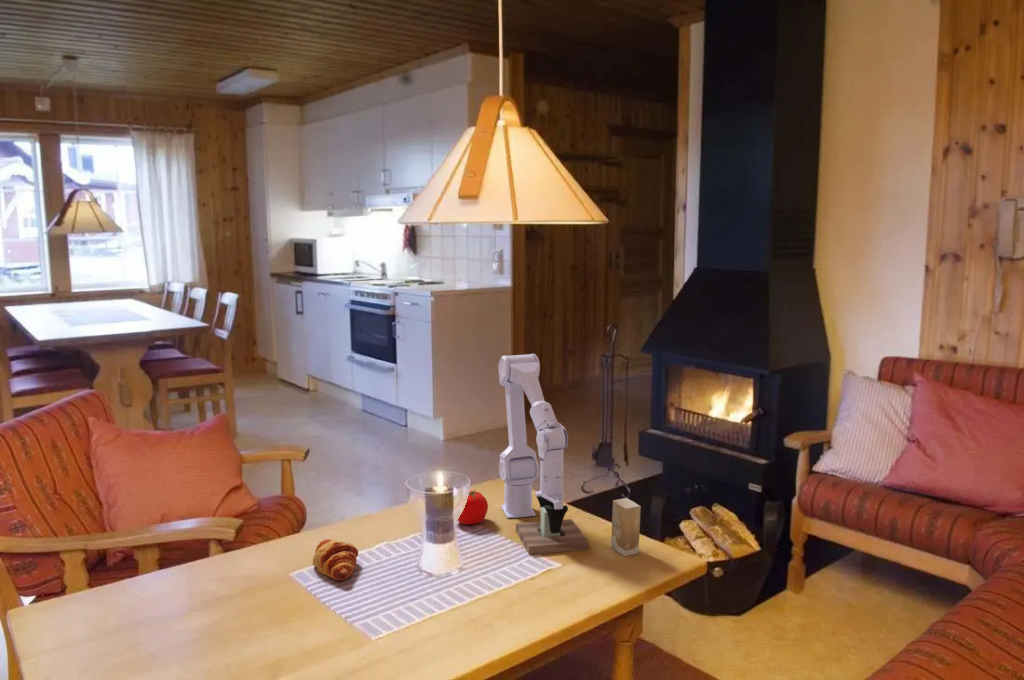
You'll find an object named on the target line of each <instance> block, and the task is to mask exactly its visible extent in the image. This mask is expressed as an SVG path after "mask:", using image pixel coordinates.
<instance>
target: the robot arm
mask: <svg viewBox="0 0 1024 680" xmlns="http://www.w3.org/2000/svg"><path fill="white" fill-rule="evenodd" d="M540 365H541V364H540V359H539V357H538V356H537V355H536V353H530V354H529V353H528V354H517V355H516V354H515V355H502V356H501V357H500V359H499V362H498V365H497V366H498V377H499V378H498V381H499V386H502V387H504V392H505V393H504V394H505V405H506V407H505V408H506V418H507V419H506V421H507V434H508V435H507V436H508V437H507V438H508V446H507V447H506V448H505V450H503V451H502V452H501V453H500V454H499V464H498V472H499V476H500V479H501V480H502V481H503V482H504V486H503V487H504V488H503V489H504V493H503V495H504V497H503V498H504V500H503V501H504V502H503V504H501V507H500V508H501V510H502V511H503V513H504V514H505V517H507V519H515V518H527V517H529V518H530V517H536V516H537V513H536V512H535V510H534V509H533V483H535V479H536V478H537V477H538V475H539V473H540V475H539V480H540V482H539V491H535V497H536V499H537V501H538V504H539V508H540V509H541V507H544V508H545V510H546V512H547V515H548V519H549V526H550V531H551V533H559V532H560V529H561V525H562V521H563V520H564V517H565V515H566V514H567V513H568V509H569V507H568V505H564V501H563V499H564V495H565V494H564V493H565V492H564V450H566V449H567V447H568V444H569V436H568V432H567V429H566V427H565V426H563V425H562V423H560V422H558V420H557V418H556V415H555V412H554V410H553V407H552V405H551V403H549V402H547V401H545V398H544V394H543V391H542V387H541V384H540V380H539V377H540V370H541V368H540V367H541V366H540ZM524 395H526V398H527V400H528V401H529V403H530V405H531V407H530V409H529V415H530V417H531V420H532V423H533V425H534V428H535V431H536V438H535V439H536V440H535V441H536V445H537V450H538V451H537V452H538V453H536V450H533V449H532V448H531V447H530V446H528V441H527V424H526V413H525V412H526V410H525V398H524V397H525V396H524ZM537 454H538V456H539V458H540V459H539V460H540V464H539V462H538V459H537Z"/></svg>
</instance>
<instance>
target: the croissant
mask: <svg viewBox="0 0 1024 680" xmlns="http://www.w3.org/2000/svg"><path fill="white" fill-rule="evenodd" d="M358 556H359V550H358V549H357V548H356V546H355V545H354V544H352V543H350V542H345V541H342V540H338V539H330V538H329V539H328V538H327V539H324V540H322V541H319V544H317V545H316V548H315V551H314V555H313V558H312V566H314V567H316V568H317V570H318V571H319V572H320V573H321V574H322V575H325V576H327V577H329V578H331V579H333V580H336V581H344V580H346V579H348V578H349V577H351V576H352V575H353V573H354V570H355V568H356V566H357V561H358V560H357V557H358Z"/></svg>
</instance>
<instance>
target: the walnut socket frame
mask: <svg viewBox="0 0 1024 680" xmlns="http://www.w3.org/2000/svg"><path fill="white" fill-rule="evenodd" d="M515 532H516V533H517V535H518V538H519V540H520V541H521V543H522V544H523V547H524V546H525V547H524V548H525V550H526V552H527V554H528V553H529V554H528V555H533V554H532V553H539V554H548V553H549V554H550V553H560V552H561V553H562V552H570V551H571V552H572V551H573V552H574V551H582V550H585V551H586V550H589V547H590V546H589V543H590V541H589V539H588V538H586V536H585V535H584V533H583V532H582V531H581V530H580V528H579V527H578V526H577V524H576V523H575V521H574V520H573V519H572V518H571V519H570V518H569V519H567V518H566V519H563V521H562V525H561V529H560V536H558V537H546V538H542V536H541V520H540V521H531V522H529V521H528V522H515Z"/></svg>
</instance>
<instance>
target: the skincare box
mask: <svg viewBox="0 0 1024 680" xmlns="http://www.w3.org/2000/svg"><path fill="white" fill-rule="evenodd" d="M641 509H642V507H641V505H639V504H638V503H636V502H634V501H633V500H631V499H629V498H628V497H625V498H619V499H613V500H612V514H611V515H612V516H611V521H612V522H611V537H610V538H611V539H610V547H611V548H612V549H614V550H615V551H616V552H617V553H619V554H620V555H622V556H624V557H627V556H632V555H637V554H639V551H640V549H639V548H640V527H641Z"/></svg>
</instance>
